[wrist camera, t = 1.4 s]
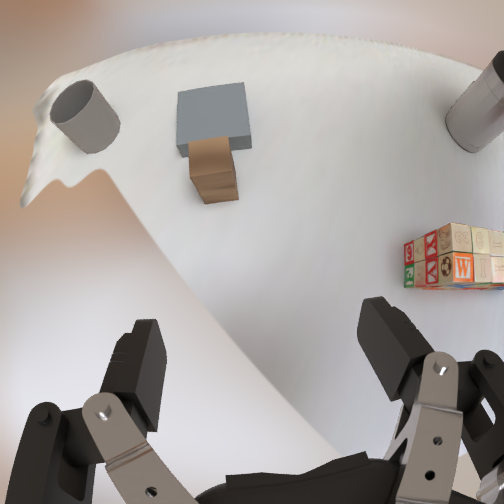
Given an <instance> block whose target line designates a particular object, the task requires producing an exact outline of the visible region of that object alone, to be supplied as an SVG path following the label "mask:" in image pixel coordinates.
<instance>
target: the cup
mask: <svg viewBox="0 0 504 504" xmlns="http://www.w3.org/2000/svg"><path fill="white" fill-rule="evenodd" d="M50 120H51V122H52V123H53V124H55V125H56V126H57V127H58V128H59V129H60V130H61V131H62V132H63V133H64V134H65V135H66V136H67V137H69V138H70V139H71V140H72V141H73V142H74V143H75V144H76V145H77V146H78V147H79V148H81V149H82V150H83V151H84V152H86V153H87V154H88V153H98V152H100V151H102V150H104V149H106V148H107V147H108V146H109V145H110V144H111V143H112V142H113V141H114V139H115V138H116V136H117V134H118V133H119V129H120V120H119V118H118V116H117V114H116V113H115V112H114V110H113V109H112V108H111V106H110V105H109V104H108V102H107V101H106V100H105V98H104V97H103V95H102V94H101V93H100V91H99V90H98V89H97V87H96V86H95V84H94V83H93V82H92V81H89V80H81V81H77V82H75V83H74V84H72V85H70V86H68V87H67V88H66V89H65V90H64V91H63V92H62V93H61V94H59V96H58V97H57V99H56V100H55V102H54V103H53V105H52V108H51V111H50Z"/></svg>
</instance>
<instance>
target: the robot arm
mask: <svg viewBox="0 0 504 504" xmlns="http://www.w3.org/2000/svg"><path fill="white" fill-rule="evenodd" d="M446 124H447V127H448V130H449V132H450V134H451V135H452V137H453V138H454V140H455V141H456V142H457V143H458V144H459V145H460V146H461V147H462V148H464V149H465V150H467V151H469V152H473V153H474V152H478V151H480V150H481V149H482V148H483V147H485V146H486V145H487V144H488V143H490V142H491V141H492V140H493V139H495V138H496V137H497V136H498V135H499V134H501V133H502V132H503V131H504V51H500V52H498V53H497V55H496V56H495V57H494V59H493V60H492V61H491V63H490V64H489V65H488V66H487V67H486V69H485V70H484V71H483V72H482V74H481V75H480V76H479V77H478V79H477V80H476V81H473V82H472V83H471V84H470V86H469V87H468V88H467V89H466V91H465V92H464V93H463V94H462V95H461V97H460V98H459V99H458V100H457V101H456V102H455V104H454V105H453V106H452V107H451V110H450V111H449V113H448V114H447V116H446ZM357 337H358V341H359V344H360V346H361V347H362V349H363V351H364V353H365V355H366V356H367V358H368V360H369V362H370V364H371V365H372V367H373V369H374V371H375V373H376V375H377V377H378V378H379V380H380V382H381V384H382V386H383V388H384V390H385V392H386V393H387V395H388V397H389V399H390V401H391V402H392V401H395V400H398V399H402V401H403V404H402V406H401V409H400V413H399V417H398V420H397V424H396V427H395V431H394V434H393V437H392V440H391V443H390V446H389V448H388V450H387V452H386V454H385V456H384V458H383V459H374V458H369V459H368V457H367V454H366V451H364V452H361V453H357V454H354V455H350V456H347V457H343V458H339V459H335V460H332V461H330V462H328V463H326V464H324V465H322V466H320V467H317V468H315V469H313V470H311V471H308V472H306V473H304V474H300V475H289V474H274V473H263V472H261V473H252V474H239V475H226V483H223V484H220V485H217V486H215V487H212V488H210V489H208V490H206V491H204V492H203V493H201V494H200V495H198V496H197V497H196V498H193V497H192V496H191V495H190V494H189V492H188V491H187V490H186V489H185V488H184V487H183V486H182V484H181V483H180V482H179V481H178V480H177V479H176V477H175V476H174V475H173V474H172V473H171V471H170V470H169V469H168V468H167V467H166V465H165V464H164V463H163V461H162V460H161V459H160V458H159V456H158V455H157V454H156V452H155V451H154V450H153V448H152V447H151V446H150V445H149V443H148V442H147V440H146V438H147V432H157V428H158V420H159V412H160V404H161V397H162V390H163V382H164V377H165V370H166V364H167V356H166V349H165V346H164V342H163V339H162V336H161V332H160V329H159V325H158V322H157V320H156V319H143V320H142V319H141V320H136V322H135V324H134V328H133V330H132V333H125V334H124V335H123V336H122V337H121V338H120V339H119V340H118V341H117V343H116V346H115V348H114V351H113V354H112V357H111V359H110V363H109V365H108V368H107V371H106V374H105V377H104V380H103V383H102V386H101V389H100V392H99V393H98V394H95V395H93V396H91V397H90V398H89V399H88V400H87V401H86V402H85V403H84V406H83V407H82V408H78V409H72V410H67V411H61V410H60V409H59V407H58V406H57V405H55V404H54V403H51V402H43V403H40V404H38V405H36V406H35V407H34V408H33V409H32V410H31V412H30V414H29V416H28V419H27V422H26V425H25V428H24V431H23V434H22V437H21V440H20V443H19V447H18V450H17V454H16V457H15V461H14V465H13V468H12V472H11V477H10V481H9V485H8V490H7V495H6V501H5V504H92V494H93V485H94V476H95V468H96V464H98V463H104V462H106V466H105V469H106V471H107V473H108V475H109V477H110V478H111V480H112V482H113V483H114V485H115V487H116V488H117V490H118V491H119V493H120V495H121V496H122V498H123V499H124V501H125V502H126V504H504V362H503V361H502V360H501V358H500V357H499V356H498V355H497V354H496V353H494V352H492V351H490V350H480V351H478V352H477V353H476V355H475V357H474V358H473V360H472V361H465V362H456V360H455V359H454V358H453V357H452V356H450V355H449V354H447V353H444V352H435V351H434V350H433V348H432V347H431V346H430V344H429V343H428V342H427V341H426V339H425V338H424V337H423V335H422V334H421V333H420V332H419V330H418V329H416V327H415V325H414V324H413V323H411V320H410V319H409V318H408V317H407V315H406V314H405V313H404V312H402V311H401V310H399V309H398V308H396V307H395V306H393V307H391V306H390V304H389V303H388V302H387V301H386V299H385V298H384V297H382V296H380V297H374V298H367V299H364V300H363V303H362V308H361V313H360V318H359V323H358V327H357ZM484 397H485V398H486V400H487V402H488V403H489V405H490V406H491V408H492V410H493V411H494V413H495V417H496V420H495V424H494V425H493V423H492V421H491V419H490V418H489V416H488V414H487V413H486V411H485V409H484V408H483V406H482V404H481V402H482V400H483V399H484ZM461 439H462V441H463V443H464V445H465V447H466V449H467V451H468V453H469V455H470V457H471V460H472V462H473V464H474V466H475V468H476V470H477V473H478V475H479V478H480V480H481V483H480V490H479V491H478V492H477V494H476V498H477V500H476V499H473V498H471V497H468V496H466V495H463V494H461V493H459V492H456V491H454V490H452V486H453V481H454V476H455V471H456V465H457V461H458V455H459V448H460V441H461Z"/></svg>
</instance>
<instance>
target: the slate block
mask: <svg viewBox="0 0 504 504" xmlns="http://www.w3.org/2000/svg"><path fill="white" fill-rule="evenodd" d="M222 136H228V138H229V143H230V148H231V151H232V150H240V149H249V148H252V145H251V133H250V125H249V117H248V110H247V102H246V94H245V87H244V82H242V83H233V84H225V85H217V86H211V87H204V88H198V89H192V90H187V91H181V92H178V104H177V147H178V149H179V151H180V153H181V155H182V157H183V158H184V157H189V147H188V142H191V141H197V140H203V139H209V138H215V137H222Z"/></svg>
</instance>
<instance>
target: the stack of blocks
mask: <svg viewBox="0 0 504 504" xmlns="http://www.w3.org/2000/svg"><path fill="white" fill-rule="evenodd" d="M404 257H405V285H404V287H405V288H420V289H434V290H457V289H480V290H503V289H504V232H500V231H493V230H488V229H485V228H479V227H473V226H471V227H470V226H469V225H463V224H457V223H449V224H447V225H446V226H443V227H441V228H439V229H438V230H434V231H432V232H430V233H427V234H425V235H424V236H422V237H420V238H418V239H416V240H413V241H411V242H409V243H406V244H404Z"/></svg>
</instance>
